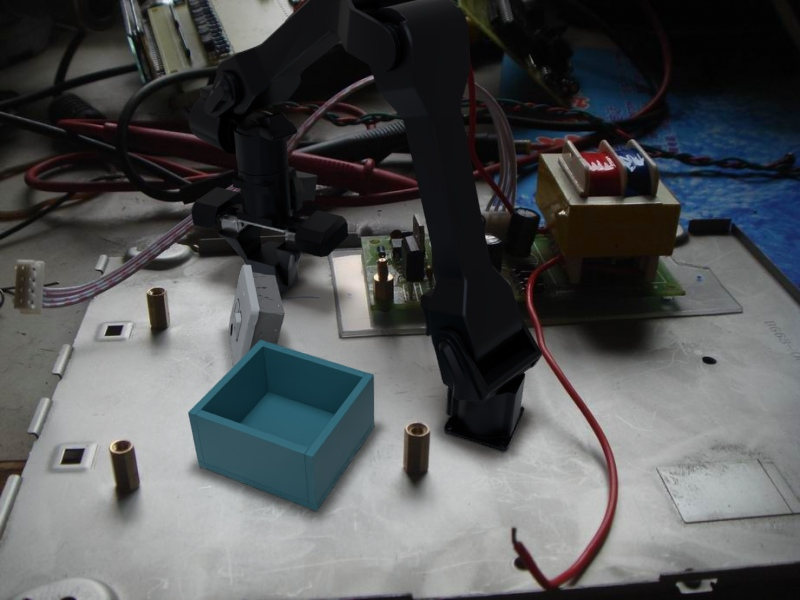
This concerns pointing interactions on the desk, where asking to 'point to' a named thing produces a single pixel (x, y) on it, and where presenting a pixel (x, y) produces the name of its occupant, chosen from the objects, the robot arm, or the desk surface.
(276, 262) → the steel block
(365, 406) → the bin
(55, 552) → the desk surface
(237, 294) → the electrical switch
